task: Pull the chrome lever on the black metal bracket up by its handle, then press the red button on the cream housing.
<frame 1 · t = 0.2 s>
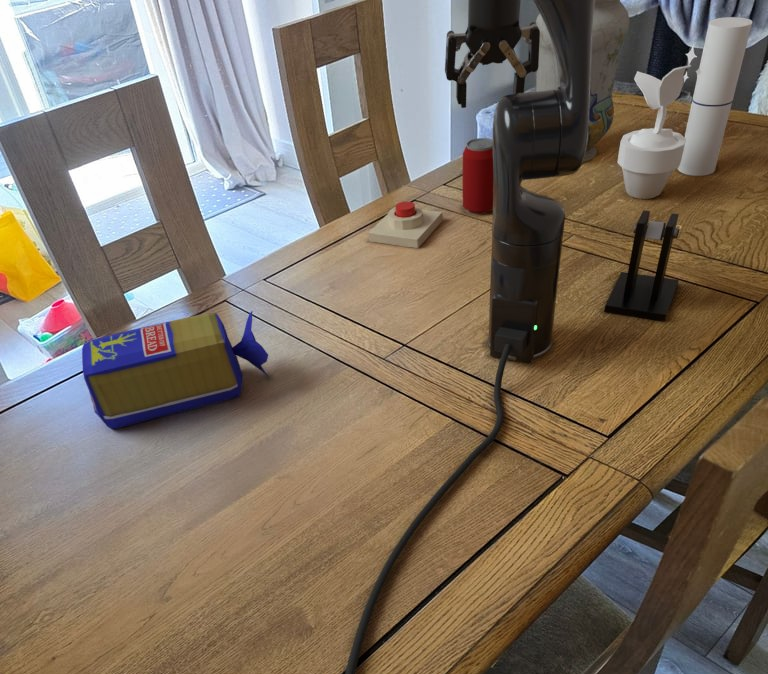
hand: (489, 103, 112), 22 cm above the table, tool pointing down, fingers open, 8 cm apart
vase: (567, 155, 152), on the table
cylindrical container: (696, 169, 142), on the table
button box: (406, 230, 133), on the table
button: (405, 210, 130), point 4 cm above the table, slide at 0.1 cm
bracket: (641, 299, 109), on the table
bread: (187, 397, 101), on the table
lever: (658, 231, 106), point 9 cm above the table, hinge at -25.0°
beverage can: (479, 209, 137), on the table
potted plant: (641, 193, 136), on the table
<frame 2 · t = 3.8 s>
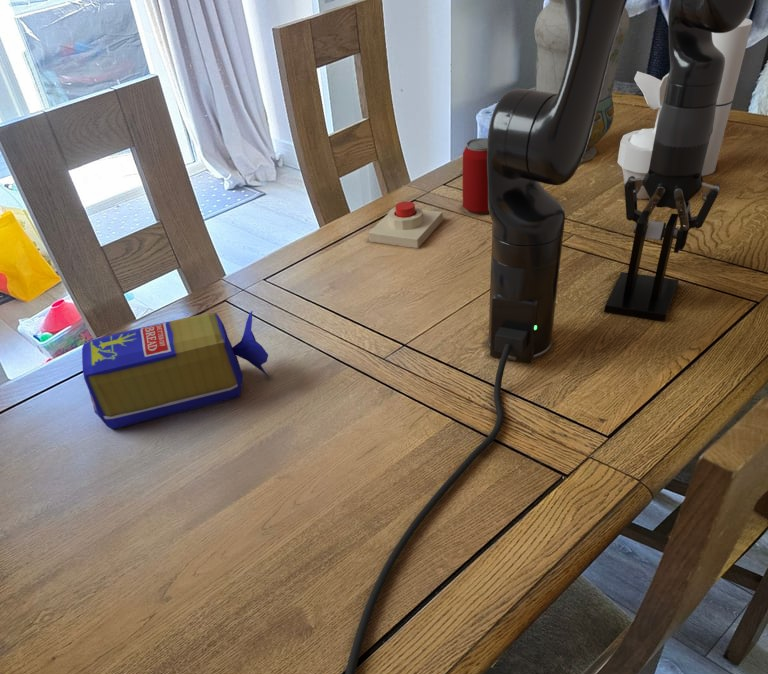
hand: (658, 247, 113), 4 cm above the table, tool pointing down, fingers closed on lever, 5 cm apart
lever: (658, 231, 106), point 9 cm above the table, hinge at -25.1°, touching gripper
everything else where it was.
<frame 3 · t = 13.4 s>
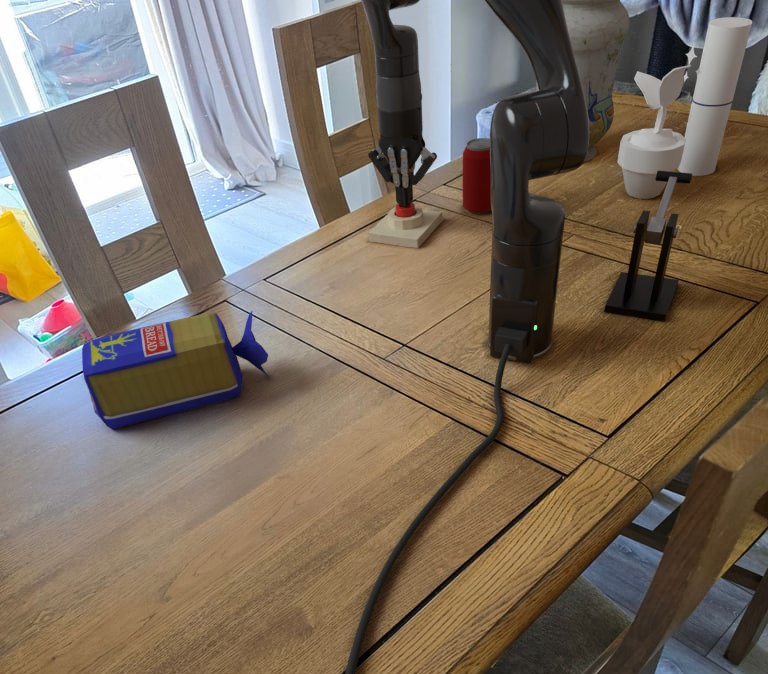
hand: (405, 205, 129), 5 cm above the table, tool pointing down, fingers closed
button: (405, 210, 130), point 4 cm above the table, slide at 0.0 cm, touching gripper
lever: (664, 205, 103), point 13 cm above the table, hinge at 19.4°
everything else where it was.
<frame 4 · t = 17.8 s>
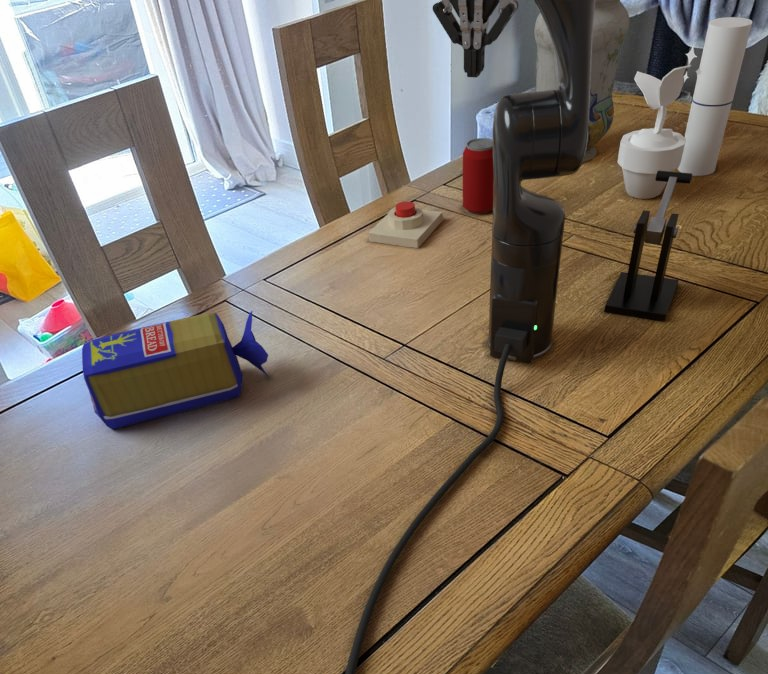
hand: (474, 75, 107), 27 cm above the table, tool pointing down, fingers closed
button: (405, 210, 130), point 4 cm above the table, slide at 0.1 cm
everything else where it was.
at the end: lever at +19° (first picture: -25°); button pushed in 1.1 cm at the most during the clip, back to where it started at the end; button slide at 0.1 cm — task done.
